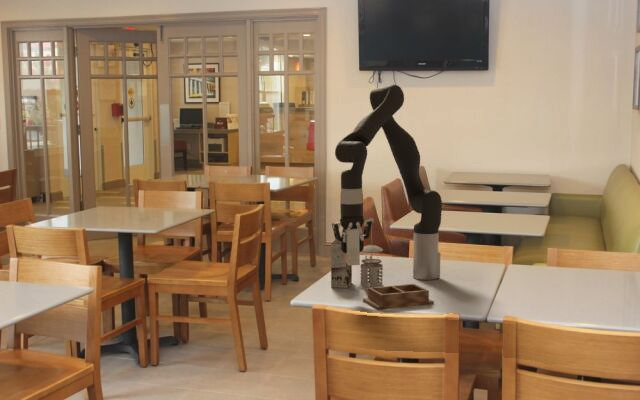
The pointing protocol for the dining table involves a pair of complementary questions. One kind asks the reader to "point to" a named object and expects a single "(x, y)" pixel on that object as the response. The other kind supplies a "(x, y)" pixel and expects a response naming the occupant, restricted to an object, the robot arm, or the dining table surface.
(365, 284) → the french press
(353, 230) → the skincare box
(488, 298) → the dining table surface
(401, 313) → the dining table surface
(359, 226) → the robot arm
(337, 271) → the coffee box
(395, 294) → the wooden compartment tray
